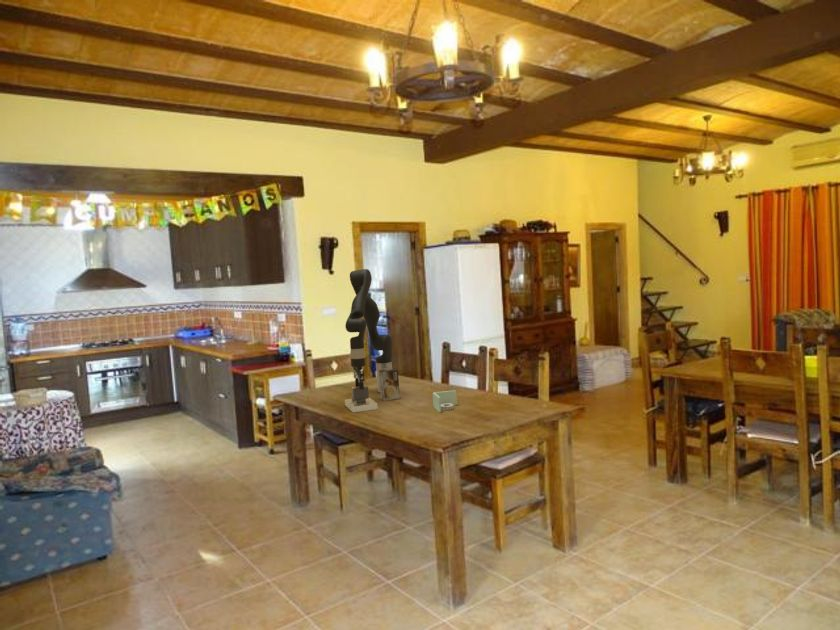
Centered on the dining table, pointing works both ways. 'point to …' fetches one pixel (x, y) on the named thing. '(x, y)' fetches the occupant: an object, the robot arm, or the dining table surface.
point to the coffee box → (389, 384)
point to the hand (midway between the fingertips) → (359, 387)
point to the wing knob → (360, 394)
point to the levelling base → (360, 405)
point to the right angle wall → (444, 400)
